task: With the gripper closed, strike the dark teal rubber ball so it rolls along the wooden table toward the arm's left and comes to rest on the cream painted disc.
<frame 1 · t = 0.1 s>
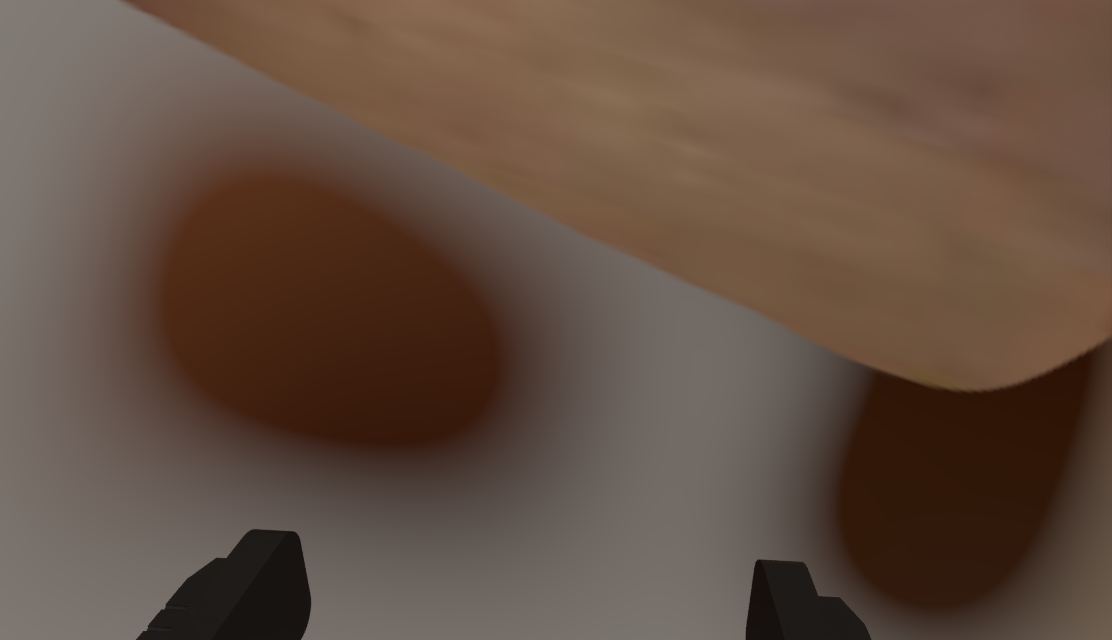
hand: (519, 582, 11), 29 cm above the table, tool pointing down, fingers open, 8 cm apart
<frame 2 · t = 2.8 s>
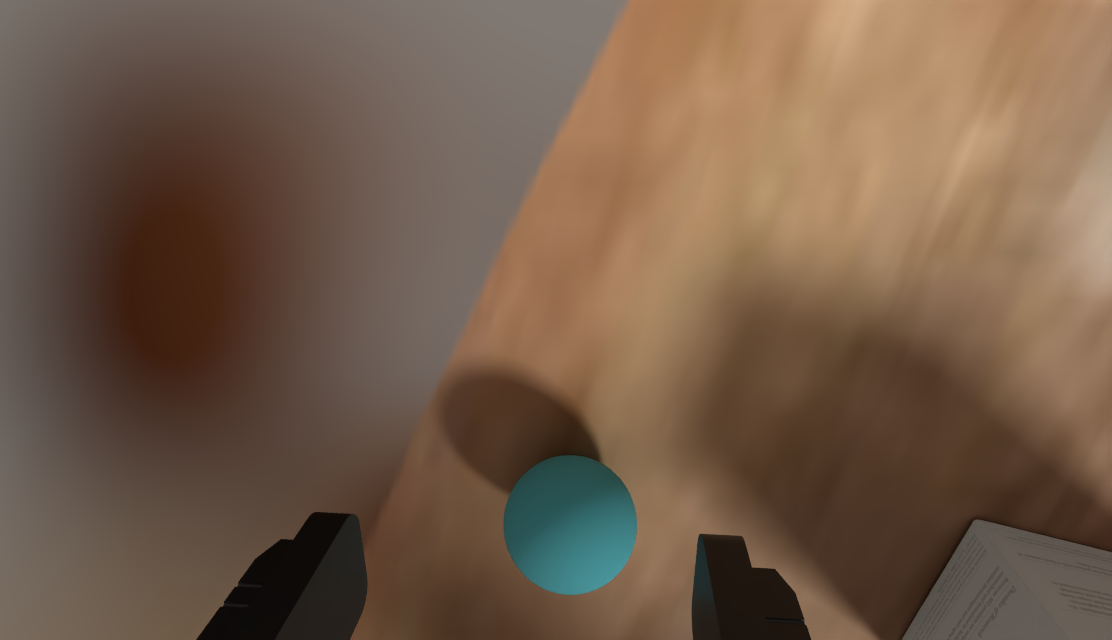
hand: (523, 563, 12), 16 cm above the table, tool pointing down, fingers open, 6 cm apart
ball: (570, 522, 27), on the table
supplement box: (1015, 607, 30), on the table
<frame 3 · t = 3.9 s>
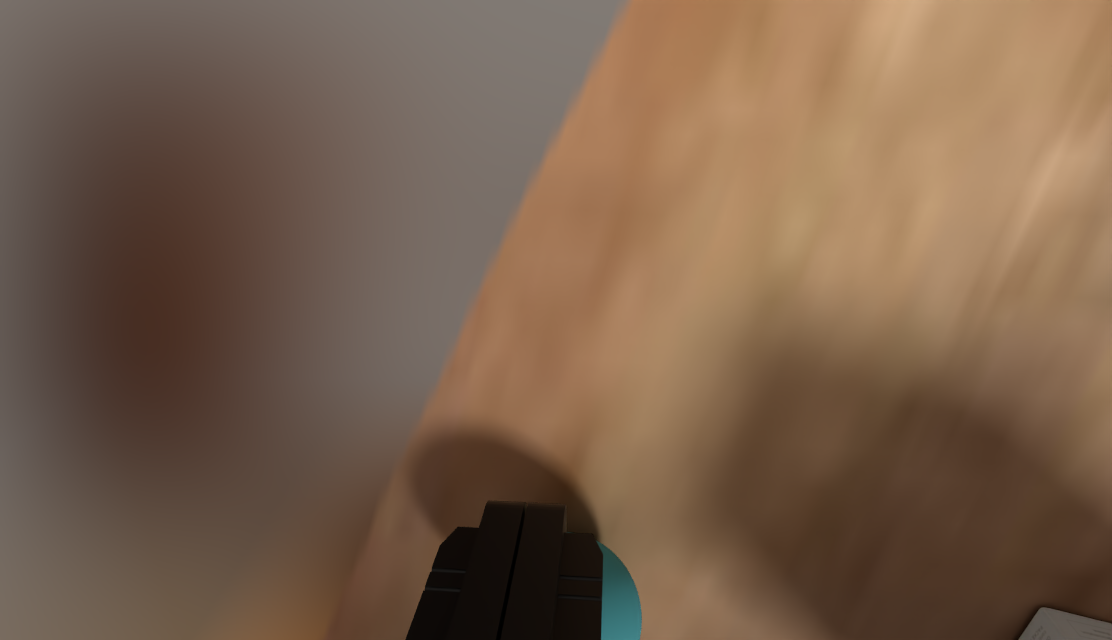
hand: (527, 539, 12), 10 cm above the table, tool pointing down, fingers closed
ball: (562, 614, 23), on the table
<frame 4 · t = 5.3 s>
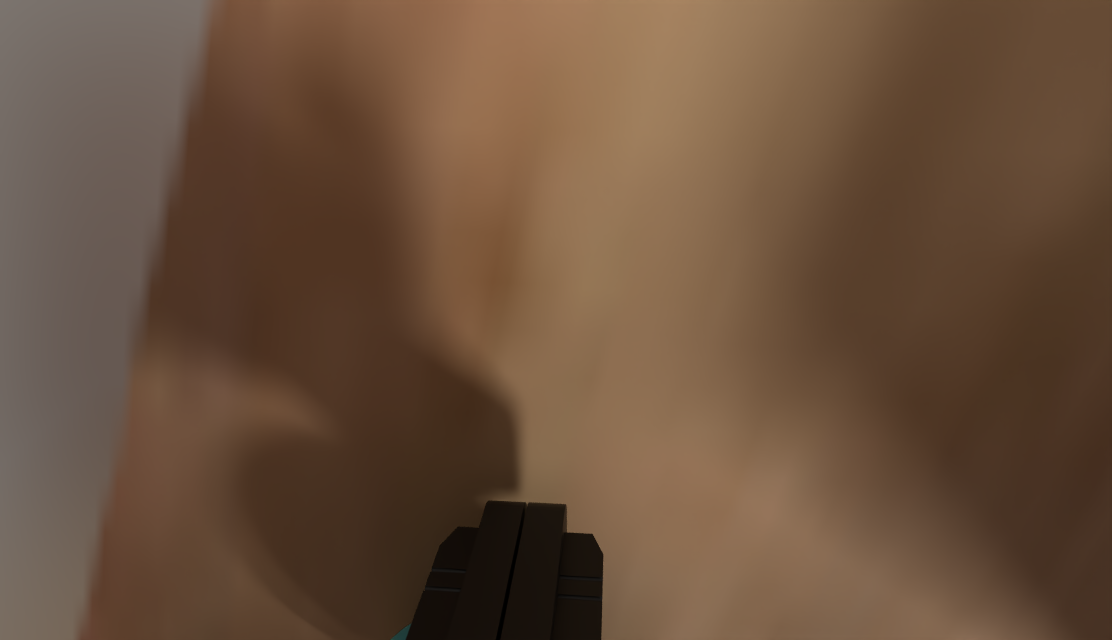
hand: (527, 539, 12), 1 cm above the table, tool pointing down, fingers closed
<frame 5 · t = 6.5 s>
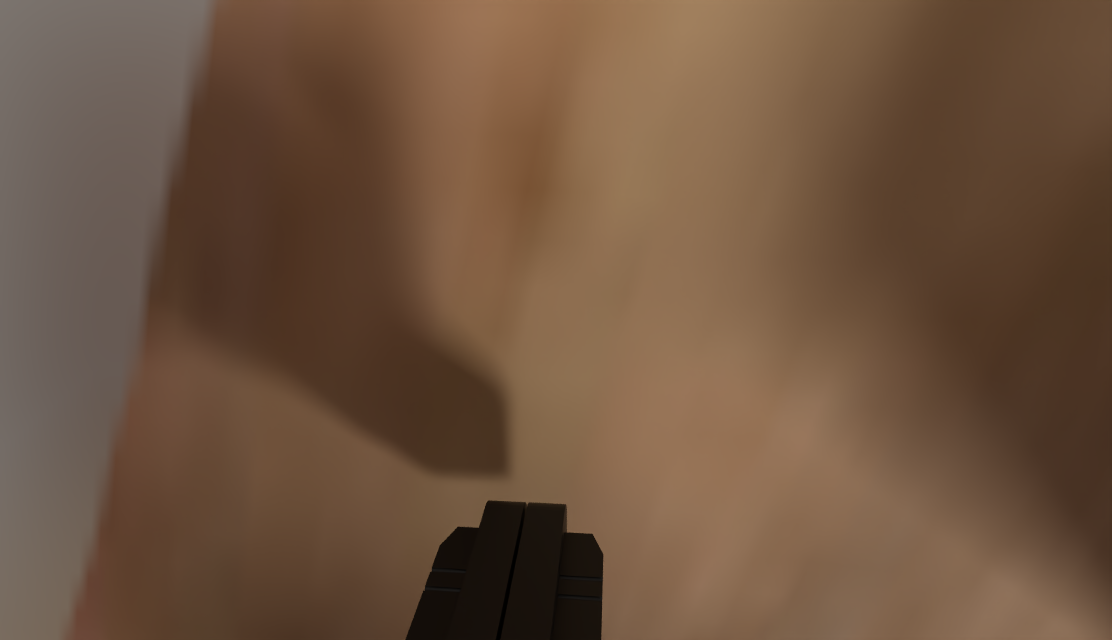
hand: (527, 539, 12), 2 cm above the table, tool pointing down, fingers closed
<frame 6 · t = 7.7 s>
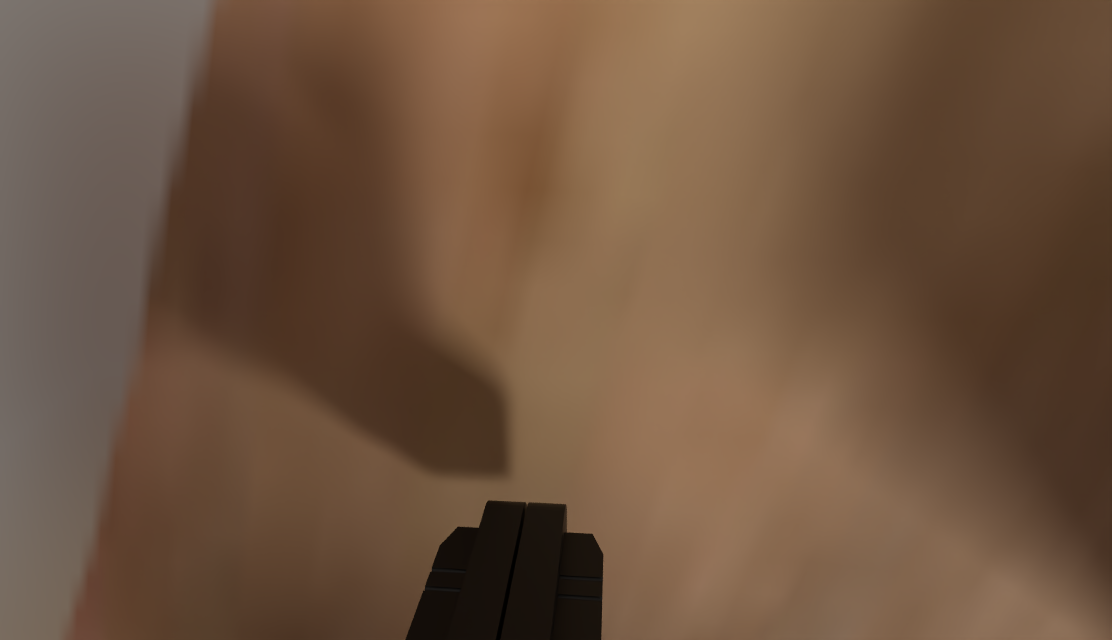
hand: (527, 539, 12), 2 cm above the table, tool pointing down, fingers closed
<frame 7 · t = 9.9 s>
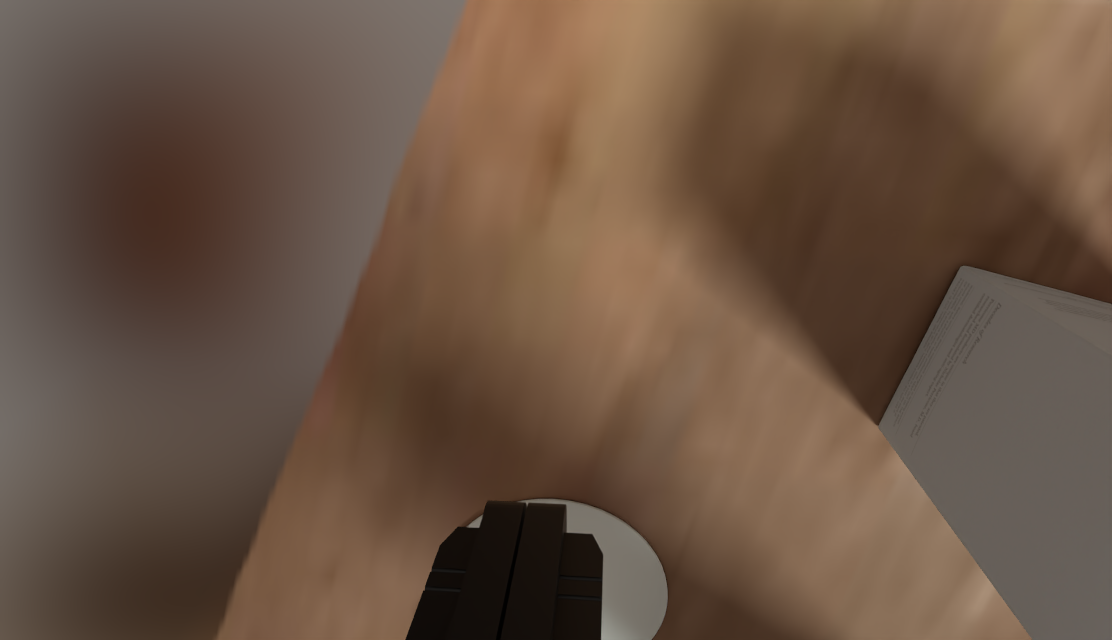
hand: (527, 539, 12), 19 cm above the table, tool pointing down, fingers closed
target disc: (553, 591, 37), on the table
supplement box: (1001, 372, 30), on the table
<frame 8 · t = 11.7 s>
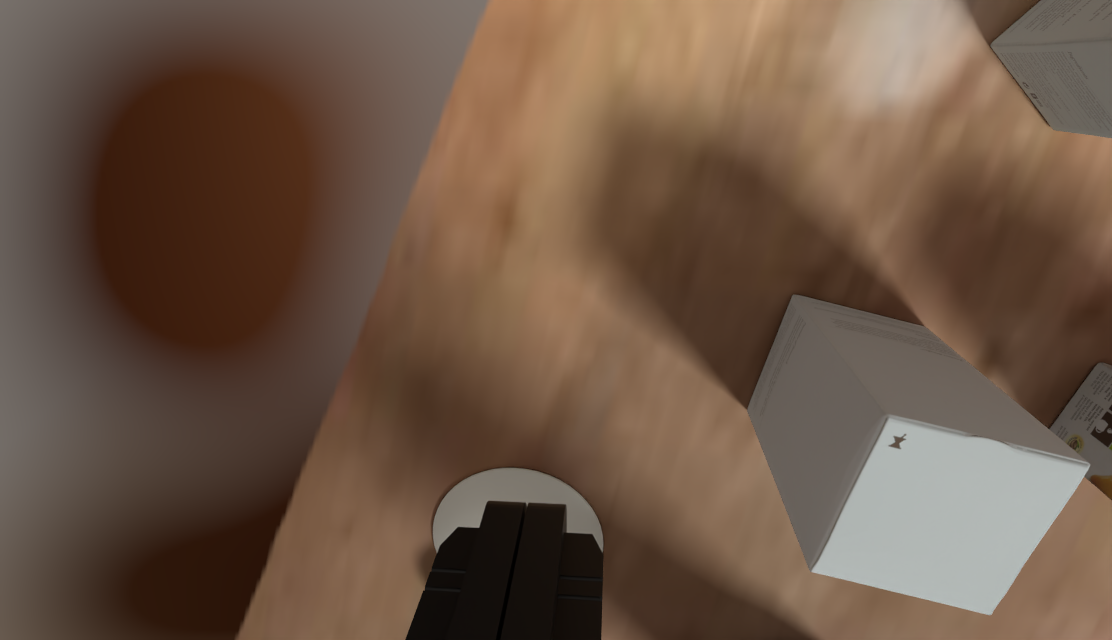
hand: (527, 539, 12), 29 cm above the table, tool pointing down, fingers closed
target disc: (517, 539, 49), on the table
small box: (1088, 31, 34), on the table
supplement box: (832, 369, 42), on the table
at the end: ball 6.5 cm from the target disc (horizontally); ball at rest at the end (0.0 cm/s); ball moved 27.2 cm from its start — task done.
